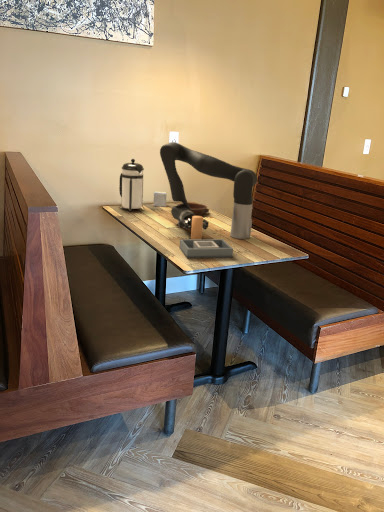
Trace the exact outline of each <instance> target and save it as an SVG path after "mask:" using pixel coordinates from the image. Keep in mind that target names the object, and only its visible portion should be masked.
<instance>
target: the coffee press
mask: <svg viewBox="0 0 384 512" xmlns="http://www.w3.org/2000/svg"><path fill="white" fill-rule="evenodd" d="M130 161H131V162H125V163H123V165H122V167H121V171H122V172H121V173H120V175H119V187H118V189H119V196H120V197H121V204H120V206H119V207H118V208H119V209H120V210H122V209H123V208H124V209H128V212H129V213H131V212H132V210H135V209H141V211H143V209H145V206H143V201H144V200H143V198H144V170H145V168H144V166H143V165H142V164H141V163H137V162H136V160H135V158H131V160H130Z"/></svg>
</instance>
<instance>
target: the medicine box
mask: <svg viewBox="0 0 384 512" xmlns="http://www.w3.org/2000/svg"><path fill="white" fill-rule="evenodd" d="M152 205H153V207H165V208H166V207H167V192H166V191H154V192H153V204H152Z"/></svg>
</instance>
